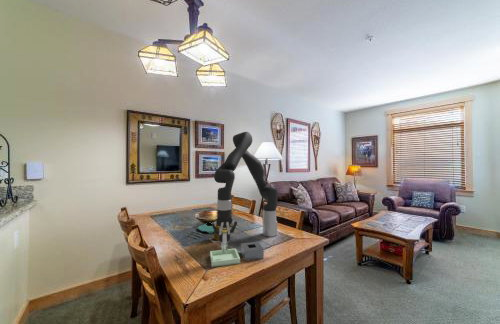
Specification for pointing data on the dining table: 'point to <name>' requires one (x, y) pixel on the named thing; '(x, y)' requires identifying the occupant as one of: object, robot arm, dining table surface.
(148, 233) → the dining table surface
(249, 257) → the socket block
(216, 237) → the condiment
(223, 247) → the pin
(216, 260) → the tray
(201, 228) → the cutlery set
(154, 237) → the dining table surface
